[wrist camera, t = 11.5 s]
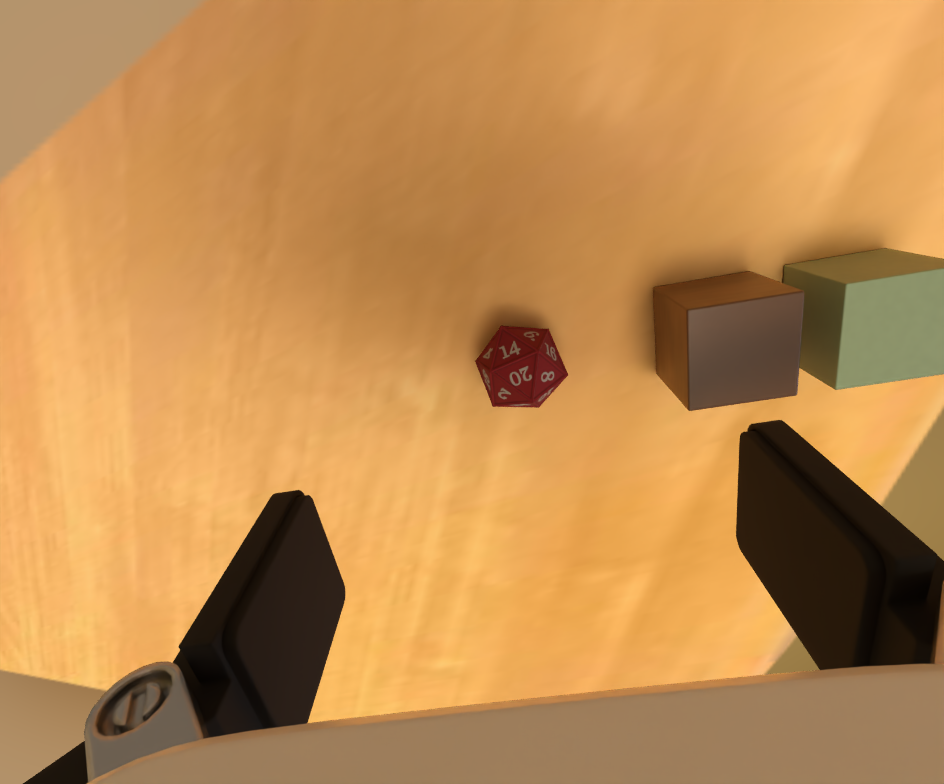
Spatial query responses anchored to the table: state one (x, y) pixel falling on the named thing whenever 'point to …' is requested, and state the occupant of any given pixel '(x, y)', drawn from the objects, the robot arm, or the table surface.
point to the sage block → (871, 317)
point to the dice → (520, 367)
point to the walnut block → (728, 339)
